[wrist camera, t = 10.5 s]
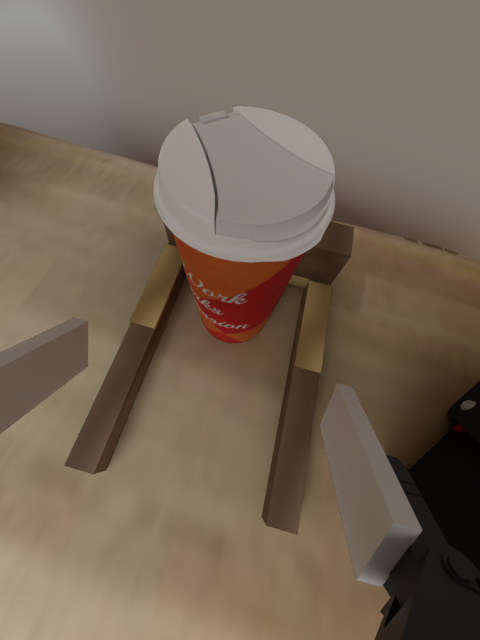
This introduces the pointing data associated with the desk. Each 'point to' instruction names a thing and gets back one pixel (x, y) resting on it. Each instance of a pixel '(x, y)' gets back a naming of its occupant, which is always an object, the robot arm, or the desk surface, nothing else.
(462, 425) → the electrical component
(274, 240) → the coffee cup
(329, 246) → the guide channel
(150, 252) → the desk surface
